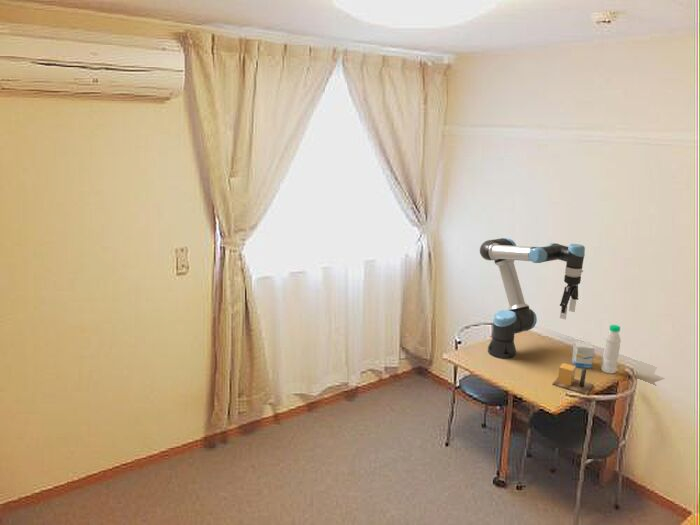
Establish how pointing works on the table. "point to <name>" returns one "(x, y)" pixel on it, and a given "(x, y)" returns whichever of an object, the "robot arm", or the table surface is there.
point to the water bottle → (611, 350)
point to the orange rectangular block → (566, 374)
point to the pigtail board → (577, 384)
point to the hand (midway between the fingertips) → (567, 315)
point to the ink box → (582, 354)
